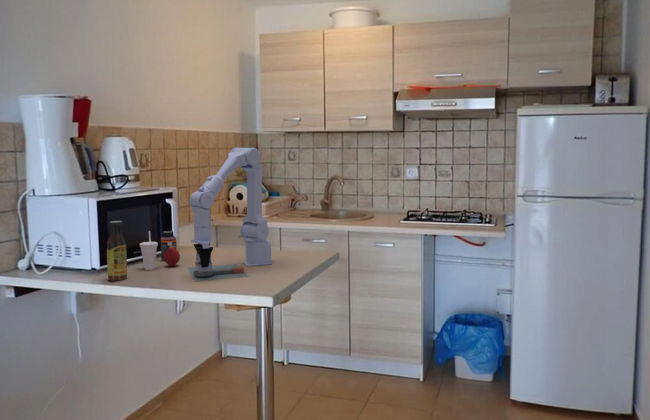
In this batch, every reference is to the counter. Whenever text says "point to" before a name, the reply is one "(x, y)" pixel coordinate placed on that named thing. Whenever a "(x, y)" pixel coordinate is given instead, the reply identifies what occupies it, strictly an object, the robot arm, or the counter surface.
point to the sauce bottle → (116, 253)
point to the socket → (199, 267)
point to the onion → (171, 256)
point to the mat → (216, 277)
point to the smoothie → (149, 253)
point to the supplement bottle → (167, 242)
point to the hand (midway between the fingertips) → (203, 265)
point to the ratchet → (219, 272)
